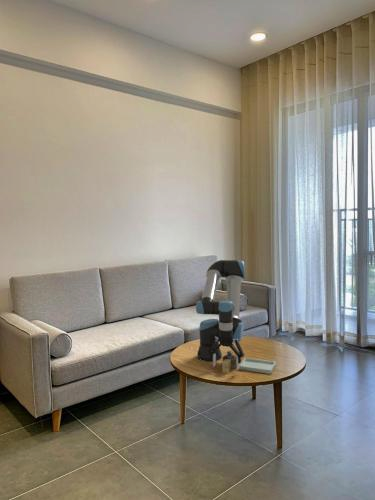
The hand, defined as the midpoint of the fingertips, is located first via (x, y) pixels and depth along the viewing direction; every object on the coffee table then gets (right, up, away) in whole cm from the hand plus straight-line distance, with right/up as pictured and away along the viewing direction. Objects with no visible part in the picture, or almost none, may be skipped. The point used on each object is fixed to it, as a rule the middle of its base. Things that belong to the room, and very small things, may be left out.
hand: (226, 367), depth 211 cm
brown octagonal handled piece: (+2, -2, +5) cm, 5 cm away
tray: (+19, -2, +7) cm, 20 cm away
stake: (+3, -2, +7) cm, 8 cm away
